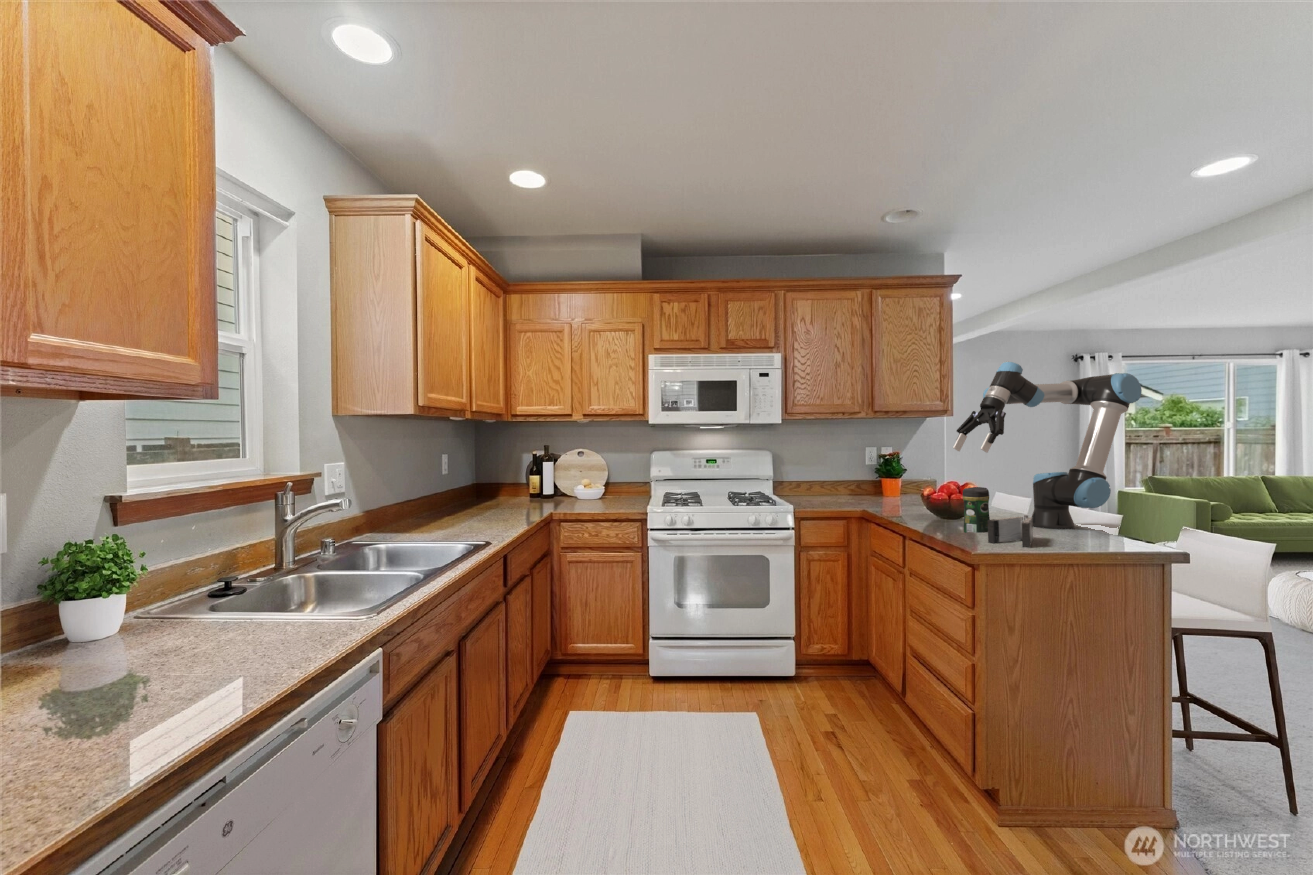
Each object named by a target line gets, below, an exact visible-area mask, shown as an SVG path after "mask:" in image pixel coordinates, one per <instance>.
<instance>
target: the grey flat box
mask: <svg viewBox="0 0 1313 875" xmlns="http://www.w3.org/2000/svg"><path fill="white" fill-rule="evenodd" d="M1021 541H1022V544H1021V546H1022V548H1028V549H1030V548H1031V544H1032V543H1033V541H1034V527H1033V518H1031V517H1029V515H1026V514H1025V515H1023V523H1022V540H1021Z"/></svg>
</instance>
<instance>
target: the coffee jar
mask: <svg viewBox="0 0 1313 875" xmlns="http://www.w3.org/2000/svg"><path fill="white" fill-rule="evenodd" d="M962 500H963V508H964V509H963V512H964V513H963V533H965V534H966V533H976V534H977V533H979V534H981V533H988V520H991V518H990V508H989V507H990V506H989V505H990V504H989V501H990V492H989V489H988V488H987V487H981V486H973V487H965V488H964V489H963V490H962Z"/></svg>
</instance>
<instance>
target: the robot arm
mask: <svg viewBox="0 0 1313 875" xmlns="http://www.w3.org/2000/svg"><path fill="white" fill-rule="evenodd" d="M1023 370H1024V369H1023V367H1022V365H1020V364H1019V363H1016V362H1013V361H1006V362H1005V361H1004V362H1002V363H1001V364H1000V366H999V367H998V368H997V371H996V372H995V374H994V377H993V379H992V381H991V383H990V385H989V386H988V387H987V388H985V390H983V395H982V400H981V403H980V405H979V407H980V409H979V411H976V410H973V411H971V413H970V414H969V416H968V418H966V419H965V420H964V422H963V423H962V424H961V425H960V426H959V427H958V428H957V429H956V433H958V436H957V438H956V439H955V443H954V445H953V447H952V448H953V449H954V450H955V451H957V452H961V449H962V447H963V445H964V444H965V441H966V439H967V438H968V436H967V435H969V434H970V433H972V431H973V430H975V429H976V428H977V427H979V426H982V425H983V424H988V427H989V430H990V431H989V432H988V433H987V435H986V437H985V438H984V440H983V442H982V445H981V447H980V450H982V451H983V452H985V453H986V454H987V453H989V450H991V446H992V444H994V443H995V441H996V438H997V437H999V435H1001V436H1002V435H1004V433H1005V417H1006V415H1007V413H1006V412H1005V411H1004V409H1005V406H1006V405H1013V404H1014V405H1015V404H1016V405H1017V404H1023V406H1026V407H1029V408H1034V407H1037V406H1038V405H1040V404H1041V403H1044V404H1045V403H1061V404H1064V405H1080V406H1081V405H1083V406H1090V407H1091V408H1092V410H1093V411H1092V414H1091V417H1090V420H1089V423H1088V425H1087V426H1088V427H1087V429H1086V432H1085V436H1084V439H1083V442H1082V445H1081V449H1080V451H1079V455H1078V458H1077V462H1076V463H1075V466H1073V467H1071V468H1069V471H1053V472H1042V473H1036V474H1035V475H1034V476H1033V478H1032V479H1033V482H1032V488H1033V490H1032V492H1033V495H1032V496H1033V511H1032V514H1031V517H1030V518H1033V528H1040V529H1048V530H1075V529H1076V524H1075V522H1074V520H1073V517H1072V514H1071V513H1070V507H1077V508H1082V509H1096V508H1099V507H1102V506H1103V505H1105V504H1106V503H1107V502H1108V501H1109V499H1110V496H1111V490H1112V489H1111V488H1110V487H1111V486H1110V483H1109V482H1108V481H1107V475H1106V474H1105V473H1104V470H1105V467H1106V463H1107V460H1108V457H1109V455H1110V451H1111V448H1112V445H1113V442H1114V438H1115V434H1116V433H1117V428H1118V426H1119V422H1120V419H1121V416H1122V414H1124V413H1126V412H1128V410H1129V408H1130V404H1134V403H1136V402H1138V401H1139V400H1140V398H1141V396H1142V393H1143V392H1142V385H1141V383H1140V382H1139V379H1138V378H1137V377H1136V376H1134V375H1133V374H1131V373H1128V372H1123V373H1120V372H1119V373H1117V372H1116V373H1114V374H1112V373H1110V374H1105V375H1103V374H1102V375H1097V376H1096V375H1095V376H1088V377H1083V378H1079V379H1073V380H1064V381H1062V382H1060V383H1042V384H1041V383H1040V384H1039V383H1038V384H1035V383H1033V382H1031V381H1030V380H1028V379H1027V378H1025V377H1024V376H1023V375H1022V374H1023Z"/></svg>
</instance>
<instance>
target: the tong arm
mask: <svg viewBox="0 0 1313 875" xmlns="http://www.w3.org/2000/svg"><path fill="white" fill-rule="evenodd" d="M1023 522H1024V516H1012V517H1005V518H1003V517H1002V518H995V519H994V518H993V519H990V520H988V532H987V543H989V544H1000V543H1007V542H1015V541H1022V523H1023Z"/></svg>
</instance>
